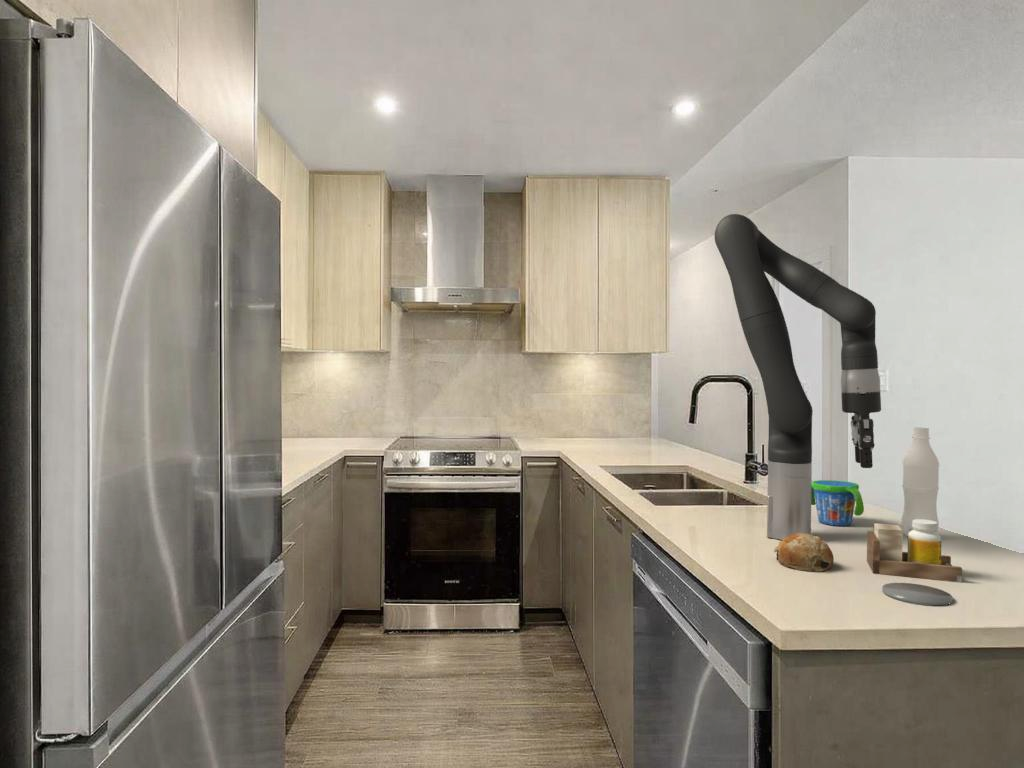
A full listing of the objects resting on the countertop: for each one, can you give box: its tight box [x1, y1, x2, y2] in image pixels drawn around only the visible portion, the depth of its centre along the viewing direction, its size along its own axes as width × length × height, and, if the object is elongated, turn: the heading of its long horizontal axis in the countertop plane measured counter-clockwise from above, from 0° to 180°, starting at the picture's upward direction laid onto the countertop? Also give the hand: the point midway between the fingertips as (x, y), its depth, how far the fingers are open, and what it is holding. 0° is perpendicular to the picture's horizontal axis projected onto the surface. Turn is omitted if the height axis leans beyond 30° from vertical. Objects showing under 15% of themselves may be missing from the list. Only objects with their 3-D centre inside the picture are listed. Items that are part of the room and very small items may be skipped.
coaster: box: [881, 582, 953, 606], centre depth 111 cm, size 10×10×1 cm
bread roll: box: [773, 533, 834, 573], centre depth 129 cm, size 10×10×8 cm
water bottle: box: [901, 427, 940, 537], centre depth 153 cm, size 7×7×25 cm
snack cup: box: [811, 479, 865, 527], centre depth 166 cm, size 16×10×10 cm
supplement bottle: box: [907, 519, 942, 565], centre depth 125 cm, size 5×5×10 cm
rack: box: [866, 523, 963, 583], centre depth 125 cm, size 14×9×8 cm, turn 69°
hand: (863, 465), depth 144 cm, fingers open, 8 cm apart
